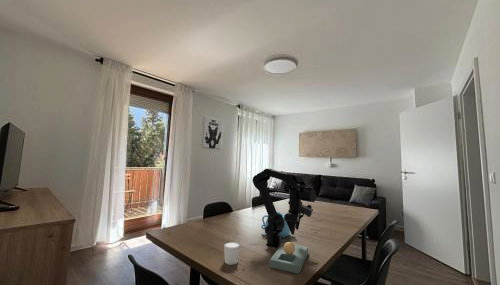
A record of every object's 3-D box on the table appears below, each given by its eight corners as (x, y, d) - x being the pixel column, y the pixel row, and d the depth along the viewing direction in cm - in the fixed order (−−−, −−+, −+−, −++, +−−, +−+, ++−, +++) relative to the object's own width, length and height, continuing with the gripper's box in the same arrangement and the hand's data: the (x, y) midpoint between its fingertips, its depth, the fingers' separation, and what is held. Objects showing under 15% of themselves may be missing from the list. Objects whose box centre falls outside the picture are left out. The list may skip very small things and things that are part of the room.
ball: (284, 254, 96) (281, 252, 92) (285, 242, 99) (283, 240, 95) (295, 256, 94) (293, 254, 90) (296, 243, 97) (294, 242, 93)
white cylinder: (239, 258, 96) (239, 242, 96) (239, 265, 89) (239, 247, 90) (224, 257, 95) (224, 241, 96) (222, 265, 89) (223, 247, 89)
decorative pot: (279, 229, 141) (279, 208, 143) (296, 236, 128) (296, 213, 129) (259, 233, 132) (259, 210, 134) (275, 241, 119) (275, 215, 120)
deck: (269, 267, 88) (269, 259, 88) (283, 248, 108) (283, 242, 108) (298, 273, 83) (298, 265, 83) (307, 253, 103) (308, 246, 103)
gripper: (308, 203, 94) (308, 240, 92) (314, 198, 111) (314, 229, 109) (283, 201, 99) (283, 236, 97) (293, 196, 116) (293, 226, 114)
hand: (295, 232), depth 104 cm, fingers open, 9 cm apart
